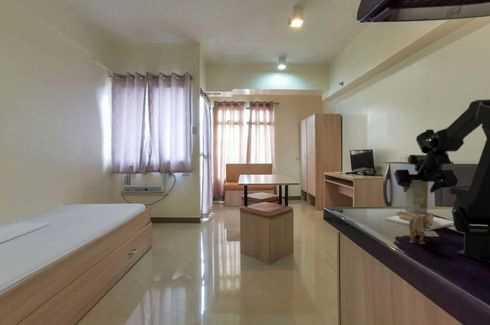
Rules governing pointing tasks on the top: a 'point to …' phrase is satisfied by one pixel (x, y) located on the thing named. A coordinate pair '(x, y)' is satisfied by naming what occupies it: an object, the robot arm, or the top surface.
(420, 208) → the skincare box
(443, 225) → the build plate
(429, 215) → the oak pedestal
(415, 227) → the lion figurine
